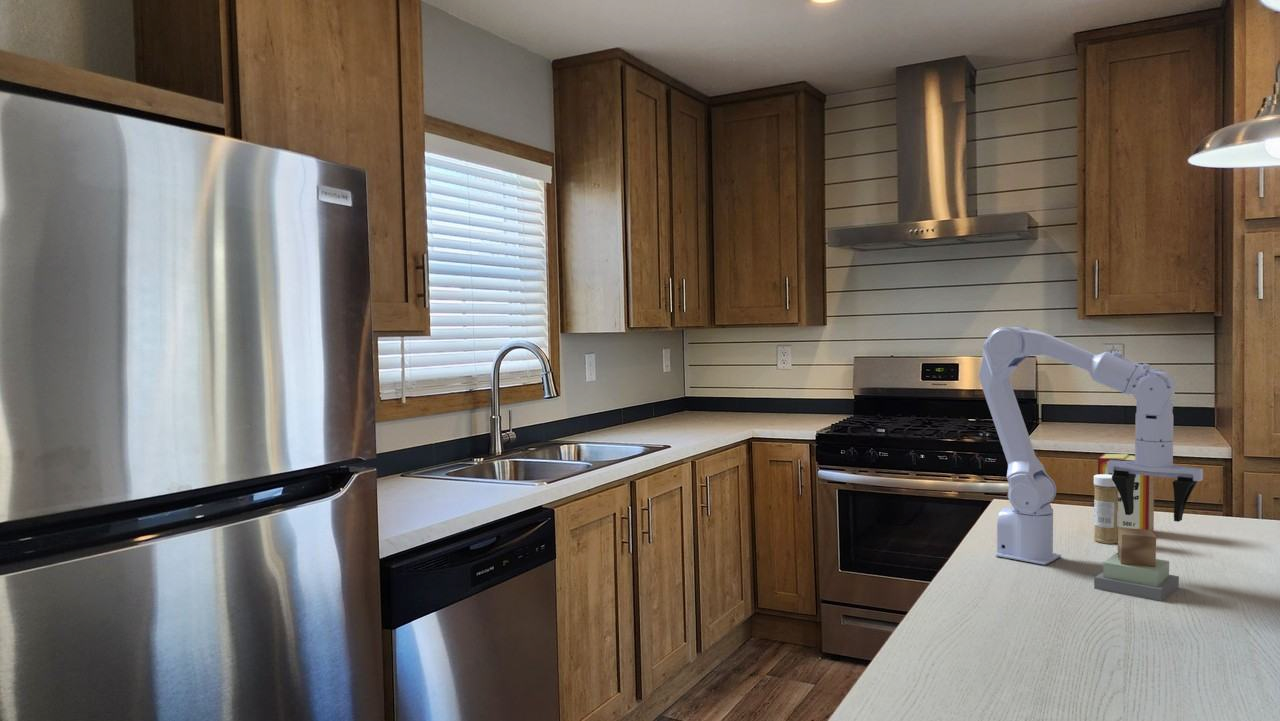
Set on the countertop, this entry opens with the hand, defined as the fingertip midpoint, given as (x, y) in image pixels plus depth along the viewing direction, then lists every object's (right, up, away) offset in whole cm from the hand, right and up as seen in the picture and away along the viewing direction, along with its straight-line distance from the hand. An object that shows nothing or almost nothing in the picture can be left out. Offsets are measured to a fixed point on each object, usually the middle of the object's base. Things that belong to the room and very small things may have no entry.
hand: (1153, 517), depth 155 cm
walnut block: (-6, -6, -6) cm, 11 cm away
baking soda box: (+13, -9, +33) cm, 36 cm away
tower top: (-6, -9, -6) cm, 12 cm away
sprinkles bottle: (+5, -9, +24) cm, 27 cm away
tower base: (-6, -11, -6) cm, 14 cm away
